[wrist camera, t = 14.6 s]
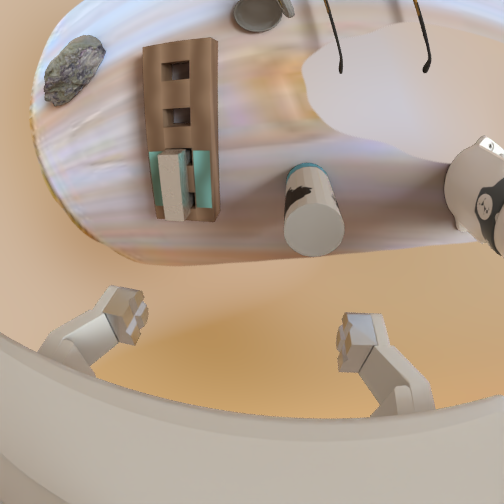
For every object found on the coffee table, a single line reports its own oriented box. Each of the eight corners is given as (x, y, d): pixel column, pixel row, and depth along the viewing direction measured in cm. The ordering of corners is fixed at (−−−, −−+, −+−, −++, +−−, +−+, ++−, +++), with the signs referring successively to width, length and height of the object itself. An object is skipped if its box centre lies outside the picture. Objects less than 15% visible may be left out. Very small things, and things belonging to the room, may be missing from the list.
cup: (277, 186, 43) (271, 235, 31) (304, 154, 39) (311, 190, 27) (310, 210, 45) (316, 266, 32) (337, 181, 41) (357, 228, 29)
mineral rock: (62, 106, 37) (25, 118, 29) (54, 59, 32) (16, 65, 23) (113, 82, 35) (74, 88, 27) (104, 29, 29) (65, 26, 21)
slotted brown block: (217, 41, 31) (210, 37, 27) (220, 210, 47) (214, 222, 43) (154, 49, 32) (141, 47, 28) (165, 208, 48) (156, 219, 44)
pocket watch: (226, 20, 29) (207, 4, 21) (257, -20, 24) (248, -46, 16) (275, 45, 31) (271, 33, 22) (307, 5, 26) (312, -17, 18)
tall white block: (196, 141, 40) (178, 154, 34) (199, 199, 46) (184, 221, 39) (178, 141, 41) (157, 155, 34) (183, 198, 46) (165, 220, 40)
